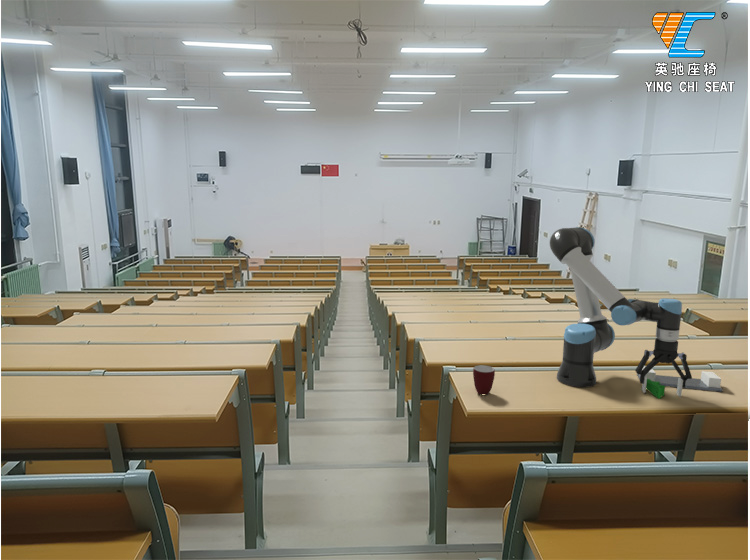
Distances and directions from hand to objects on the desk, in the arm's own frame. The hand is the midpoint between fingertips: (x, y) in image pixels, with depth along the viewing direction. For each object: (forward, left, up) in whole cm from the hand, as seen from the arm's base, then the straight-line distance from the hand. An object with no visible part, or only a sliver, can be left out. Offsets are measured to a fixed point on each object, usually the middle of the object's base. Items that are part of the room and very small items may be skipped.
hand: (661, 393), depth 183 cm
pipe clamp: (-2, 0, -1) cm, 2 cm away
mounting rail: (+10, +14, 0) cm, 17 cm away
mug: (-67, -19, 0) cm, 70 cm away
